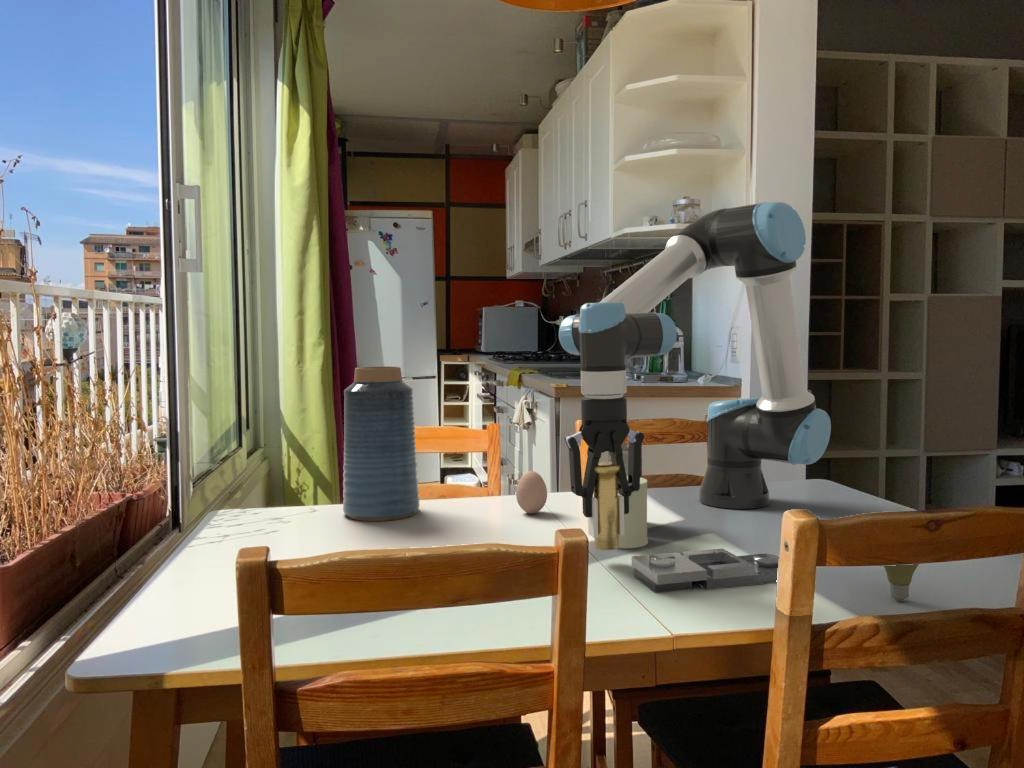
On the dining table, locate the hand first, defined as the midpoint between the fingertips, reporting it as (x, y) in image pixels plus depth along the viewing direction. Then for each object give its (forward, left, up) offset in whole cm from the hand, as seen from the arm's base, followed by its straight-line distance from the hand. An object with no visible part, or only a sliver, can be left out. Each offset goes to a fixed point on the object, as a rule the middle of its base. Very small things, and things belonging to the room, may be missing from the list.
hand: (606, 534), depth 137 cm
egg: (+2, -39, -5) cm, 39 cm away
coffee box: (-13, -23, -5) cm, 27 cm away
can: (-8, -12, -5) cm, 15 cm away
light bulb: (-34, +29, -5) cm, 45 cm away
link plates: (-14, +12, -5) cm, 19 cm away
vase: (+33, -49, -5) cm, 59 cm away
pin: (0, 0, -2) cm, 2 cm away
